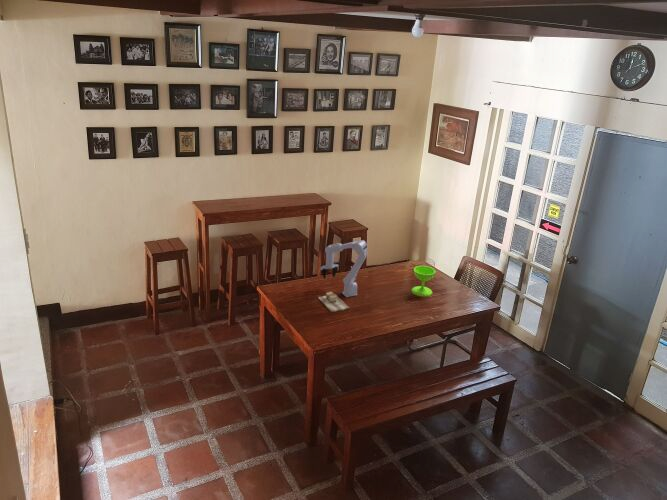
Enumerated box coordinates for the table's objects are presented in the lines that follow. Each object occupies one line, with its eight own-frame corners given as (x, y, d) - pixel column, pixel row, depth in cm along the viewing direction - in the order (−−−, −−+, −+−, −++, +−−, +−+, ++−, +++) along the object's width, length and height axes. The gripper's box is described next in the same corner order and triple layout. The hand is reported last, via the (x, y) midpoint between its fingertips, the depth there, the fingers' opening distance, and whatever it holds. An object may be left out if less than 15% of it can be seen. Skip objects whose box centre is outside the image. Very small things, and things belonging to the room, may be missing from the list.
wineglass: (436, 295, 399) (439, 273, 392) (418, 297, 393) (420, 275, 386) (425, 285, 412) (428, 264, 405) (407, 288, 407) (410, 267, 400)
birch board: (335, 295, 390) (335, 293, 389) (349, 308, 372) (349, 307, 371) (318, 298, 384) (318, 297, 384) (331, 312, 366) (331, 310, 365)
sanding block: (326, 297, 383) (326, 292, 382) (331, 296, 385) (331, 291, 383) (330, 302, 376) (330, 297, 375) (336, 301, 378) (336, 296, 377)
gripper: (336, 257, 397) (335, 273, 403) (318, 259, 391) (317, 276, 396) (340, 260, 392) (339, 277, 397) (322, 263, 385) (321, 280, 391)
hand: (328, 277), depth 396 cm, fingers open, 7 cm apart
